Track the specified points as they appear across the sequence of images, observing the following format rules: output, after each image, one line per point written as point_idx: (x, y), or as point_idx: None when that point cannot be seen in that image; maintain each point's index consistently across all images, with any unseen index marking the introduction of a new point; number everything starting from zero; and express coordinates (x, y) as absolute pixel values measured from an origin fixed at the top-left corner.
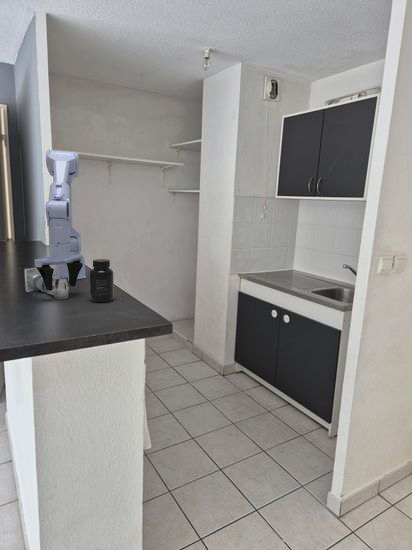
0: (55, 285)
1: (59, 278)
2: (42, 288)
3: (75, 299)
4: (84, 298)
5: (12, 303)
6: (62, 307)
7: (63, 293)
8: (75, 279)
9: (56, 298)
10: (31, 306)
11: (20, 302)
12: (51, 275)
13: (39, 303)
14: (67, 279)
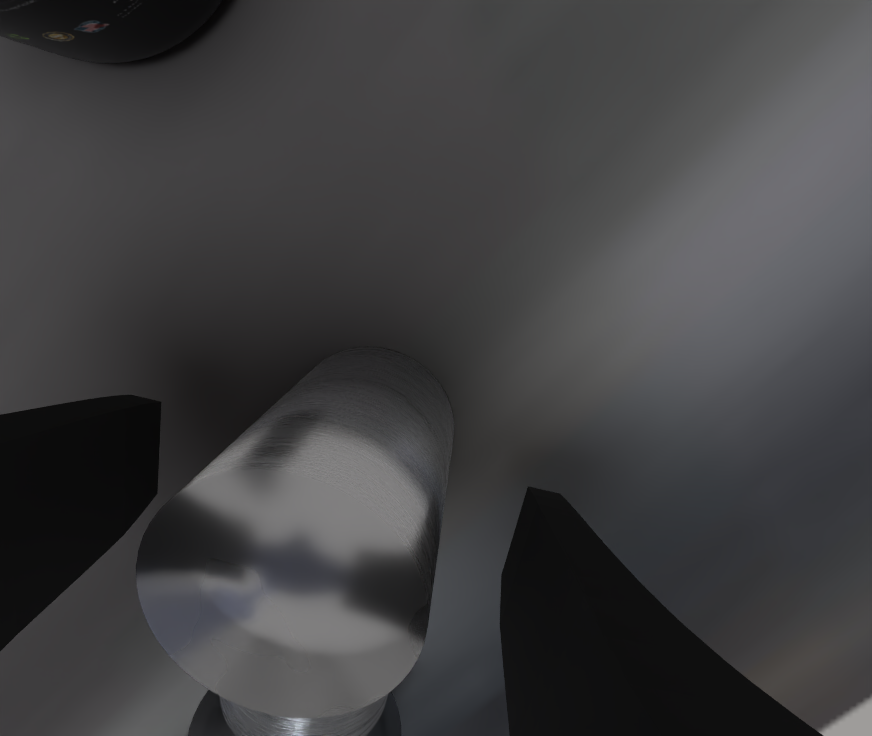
0: (439, 532)
1: (330, 592)
2: (382, 717)
3: (327, 225)
4: (220, 160)
5: (820, 657)
6: (709, 78)
7: (394, 378)
8: (39, 422)
9: (453, 425)
10: (838, 435)
11: (754, 624)
12: (657, 678)
13: (693, 450)
14: (216, 467)
